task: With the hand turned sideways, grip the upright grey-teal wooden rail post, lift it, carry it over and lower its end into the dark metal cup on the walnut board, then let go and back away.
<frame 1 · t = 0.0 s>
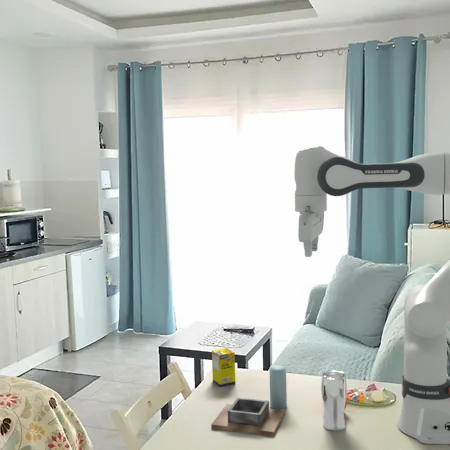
hand: (311, 253, 164), 48 cm above the table, tool pointing down, fingers open, 8 cm apart
rail post: (278, 406, 177), on the table
cup bracket: (248, 421, 167), on the table
clementine: (334, 412, 172), on the table
supplement box: (224, 383, 197), on the table
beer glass: (334, 426, 163), on the table
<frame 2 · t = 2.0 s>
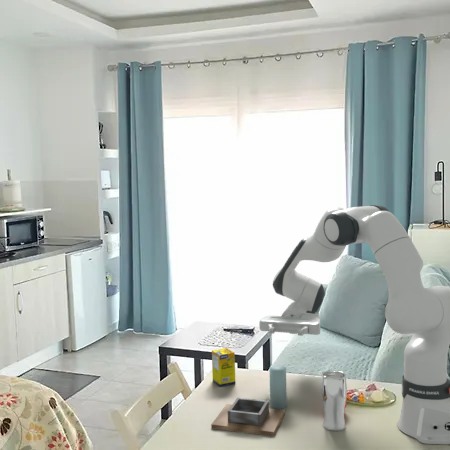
hand: (285, 332, 186), 20 cm above the table, tool horizontal, fingers open, 8 cm apart
nothing on the table moved.
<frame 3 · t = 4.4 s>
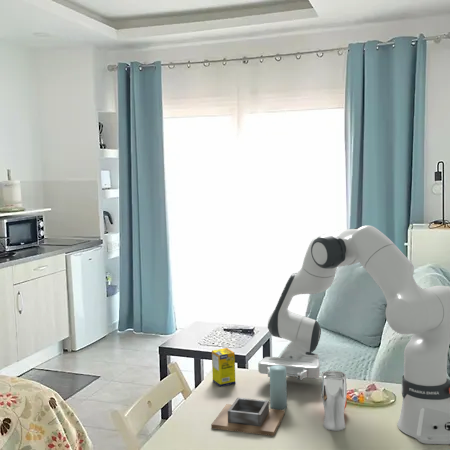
hand: (284, 376, 184), 6 cm above the table, tool horizontal, fingers open, 8 cm apart
nothing on the table moved.
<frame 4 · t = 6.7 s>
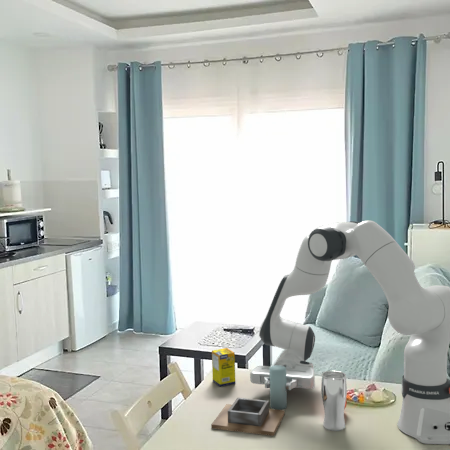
hand: (277, 386, 175), 7 cm above the table, tool horizontal, fingers closed on rail post, 5 cm apart
rail post: (278, 406, 177), on the table, touching gripper
everything else where it was.
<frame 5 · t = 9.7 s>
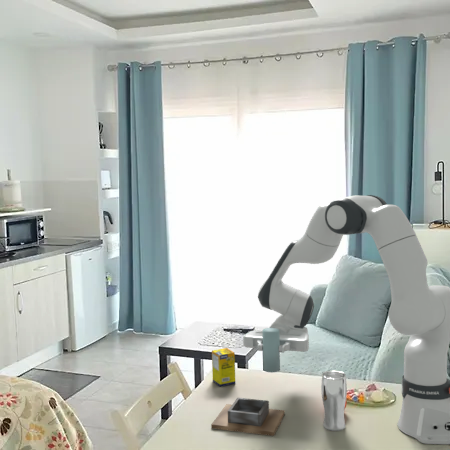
hand: (270, 349, 172), 19 cm above the table, tool horizontal, fingers closed on rail post, 5 cm apart
rail post: (271, 369, 174), point 12 cm above the table, touching gripper
everything else where it was.
when the fingers open (10 cm above the table, at t = 13.2 s): rail post drops 1 cm, resting on cup bracket.
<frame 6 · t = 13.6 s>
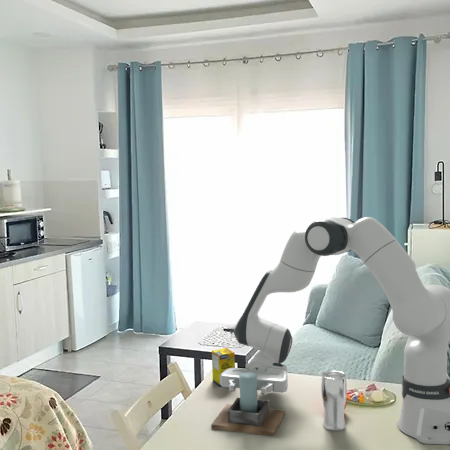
hand: (247, 390, 165), 10 cm above the table, tool horizontal, fingers open, 8 cm apart
rail post: (249, 415, 167), point 2 cm above the table, touching cup bracket
everything else where it was.
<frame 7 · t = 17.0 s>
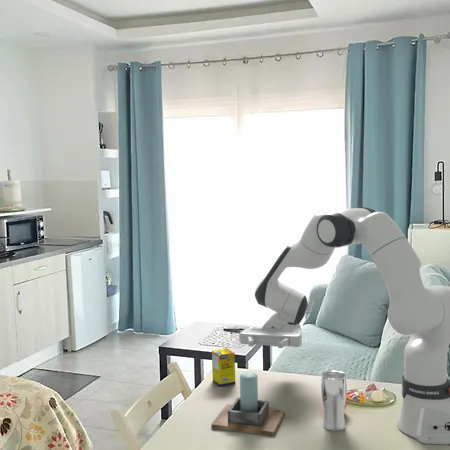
hand: (265, 344, 180), 18 cm above the table, tool horizontal, fingers open, 8 cm apart
nothing on the table moved.
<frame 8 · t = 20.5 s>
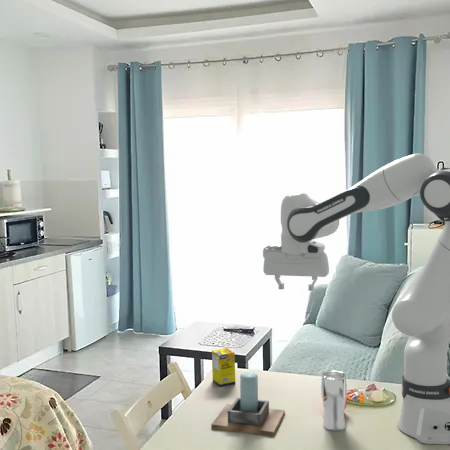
hand: (296, 289, 181), 34 cm above the table, tool pointing down, fingers open, 8 cm apart
nothing on the table moved.
at the end: rail post 0.1 cm off-centre on the cup bracket, point 1.6 cm above the cup bracket's base; rail post tilted 1°; the gripper is holding nothing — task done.
